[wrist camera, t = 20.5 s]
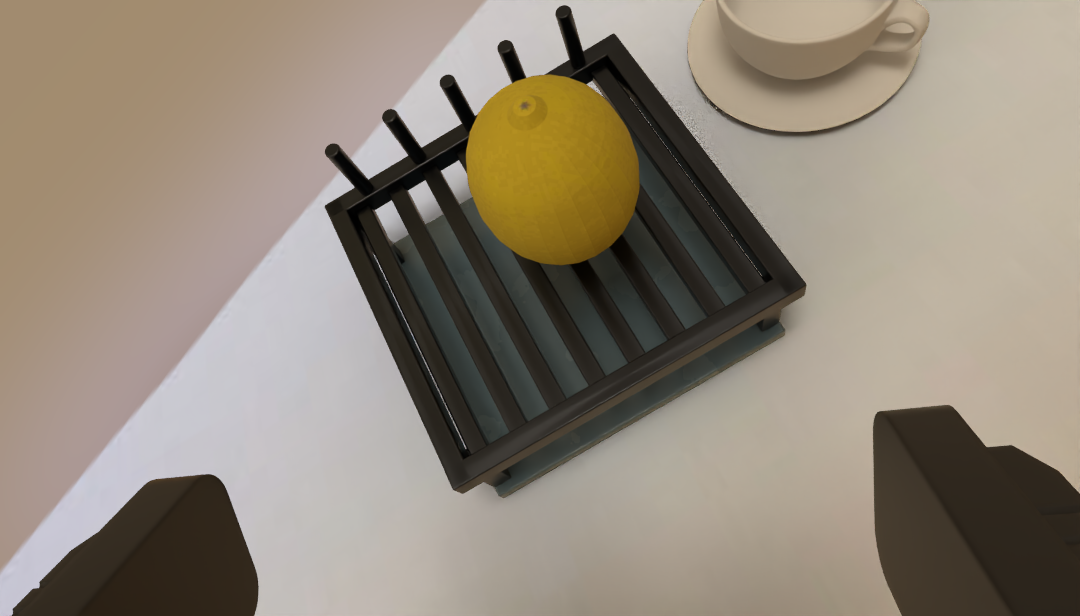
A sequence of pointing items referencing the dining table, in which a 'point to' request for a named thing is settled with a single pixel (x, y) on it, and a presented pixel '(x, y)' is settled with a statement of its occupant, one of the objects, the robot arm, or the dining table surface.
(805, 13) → the teacup
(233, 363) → the dining table surface
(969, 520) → the robot arm
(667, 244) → the dish rack
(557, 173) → the lemon
